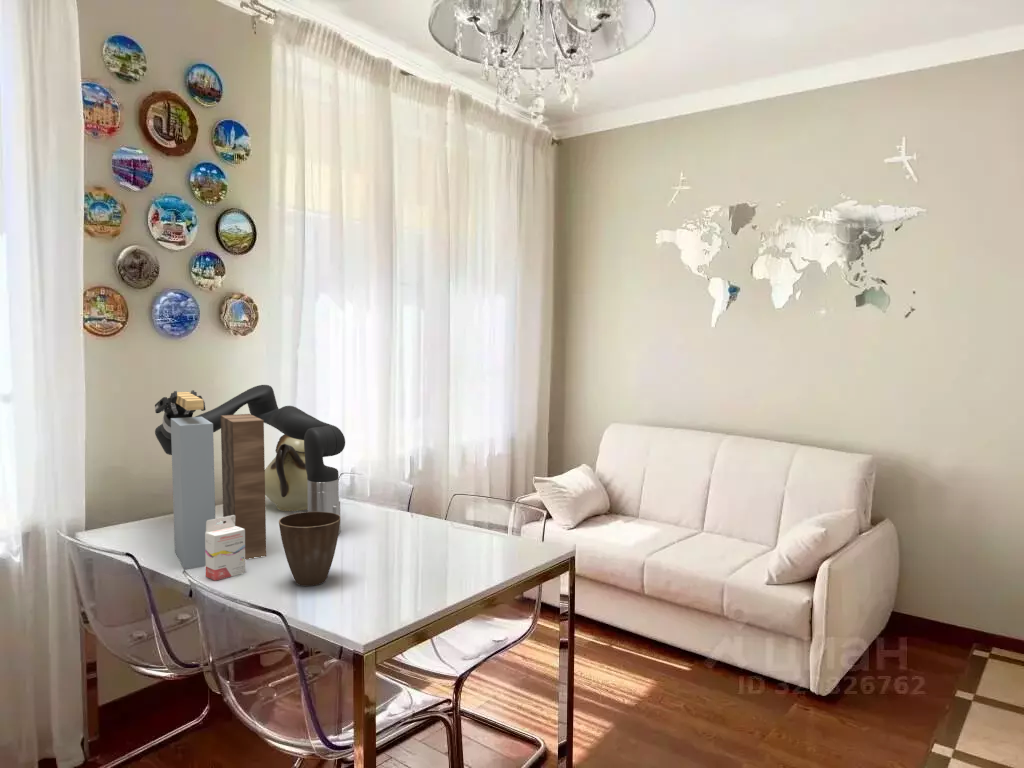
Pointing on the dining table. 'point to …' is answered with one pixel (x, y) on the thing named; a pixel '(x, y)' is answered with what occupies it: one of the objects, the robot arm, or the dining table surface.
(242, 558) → the ink cartridge box
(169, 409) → the robot arm
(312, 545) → the plant pot
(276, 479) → the pitcher
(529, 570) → the dining table surface
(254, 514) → the walnut pillar
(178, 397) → the pine slat
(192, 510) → the slate grey pillar
